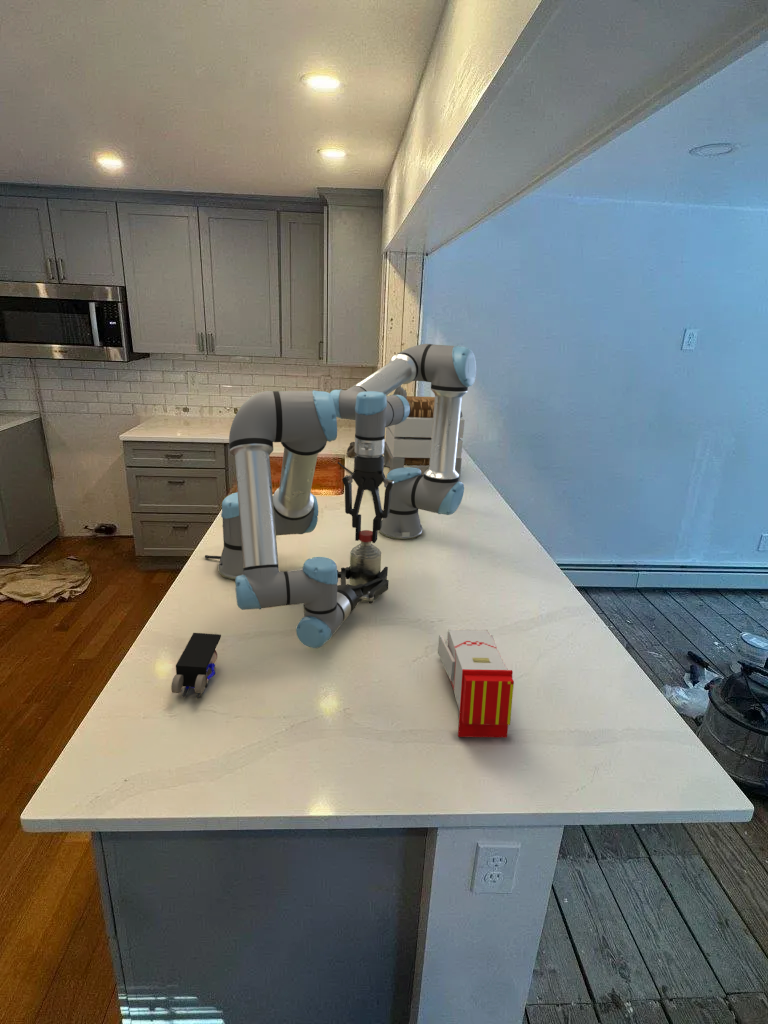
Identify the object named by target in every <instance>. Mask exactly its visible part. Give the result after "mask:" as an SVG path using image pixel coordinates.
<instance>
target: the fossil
mask: <svg viewBox="0 0 768 1024" xmlns="http://www.w3.org/2000/svg"><path fill="white" fill-rule="evenodd" d="M355 455H356V453H355V441H351V442H350V443H349V446H348V447H347V450H346V456H347V457H348V458H352V457H354V456H355Z"/></svg>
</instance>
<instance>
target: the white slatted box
mask: <svg viewBox="0 0 768 1024" xmlns="http://www.w3.org/2000/svg"><path fill="white" fill-rule="evenodd" d="M407 394H408V393H407V390H406V389H404V388H403V387H402V385H401V386H399V387H398V388H396V389H395V390H394V391H393V394H392V395H401V396H403V397H404V398H406V399H407V401H408V403H409V406H410V413H409V416H408V417H407V419H406V420H404V421H403V422H401V423H399V424H397V425H392V426H388V427H385V447H384V454H383V456H384V467H388V468H389V472H390V471H391V470H393V469H397V468H405V466H406V467H409V466H411V467H417V466H418V467H429V462H430V450H431V438H432V425H433V413H434V401H435V396H415V395H414V396H413V395H412V396H411V395H407ZM464 429H465V419H464V418H463V411H461V413H460V424H459V434H458V444H457V454H456V464H455V471H456V472H457V473H458V474H459V482H461V472H462V461H463V460H462V453H463V442H464V441H463V440H462V439H463V438H464V431H465V430H464Z"/></svg>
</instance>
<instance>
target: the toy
mask: <svg viewBox="0 0 768 1024" xmlns="http://www.w3.org/2000/svg"><path fill="white" fill-rule="evenodd" d="M446 640H447V643H446V641H445V639H444V636H443V635H442V634H439V637H438V646H437V656H438V657H439V659H440V661H441V663H442V666H443V668H444V670H445V672H446V674H447V677H448V679H449V681H450V684H451V687H452V690H453V693H454V697H455V701H456V705H457V708H458V711H459V714H458V715H459V716H458V730H457V731H458V732H457V737H458V738H508V731H509V726H510V725H511V717H512V707H513V697H514V696H513V695H514V684H515V680H514V679H513V673H514V671H513V670H512V669H508V667H507V665H506V662H505V661H504V659H503V658H502V655H501V653H500V651H499V649H498V647H497V643H496V639H495V637H494V635H493V634H491V632H490V631H489V629H467V628H466V629H465V628H463V629H461V628H460V629H459V628H448V630H447V639H446Z"/></svg>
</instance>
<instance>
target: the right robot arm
mask: <svg viewBox="0 0 768 1024" xmlns="http://www.w3.org/2000/svg"><path fill="white" fill-rule="evenodd" d="M476 377H477V362H476V356H475V354H474V352H473V350H472V349H471V348H469V347H467V346H461V345H449V344H432V343H421V344H416V345H413V346H411V347H408V348H406V349H404V350H402V351H399V352H398V353H396V354H394V355H393V356H392V357H391V358H390V359H389V362H388V363H386V364H385V365H384V366H382V367H381V368H379V369H377V370H376V371H375V372H373V373H371V374H369V375H368V376H367V377H365V378H363V379H362V380H360V381H359V382H357V383H355V384H354V385H353V386H350V387H349V388H348V389H345V390H344V389H333V390H331V391H329V394H330V395H331V396H332V398H333V401H334V406H335V411H336V418H338V419H341V420H352V421H354V425H355V427H354V429H355V430H354V432H355V434H354V442H355V453H356V455H355V456H353V457H354V458H353V471H351V470H350V469H348V468H347V467H346V466H344V465H343V464H342V463H341V462H339V461H337V464H338V465H339V466H340V467H342V469H344V470H346V471H347V472H348V473H350V474H349V475H348V474H345V475H344V476H343V477H342V478H341V480H342V484H343V486H344V508H345V509H344V512H345V514H346V515H350V516H351V526H352V528H353V529H355V532H354V533H355V536H354V540H355V541H356V542H358V541H360V540H359V532H360V531H362V514H361V513H360V509H361V504H362V500H363V496H364V492H365V491H369V492H370V493H371V496H372V502H373V508H374V513H375V516H374V517H373V519H372V531H373V536H372V542H371V544H376V542H377V540H378V533H379V534H380V535H381V536H382V537H385V538H387V539H389V540H395V541H410V540H415V539H418V538H420V537H421V536H422V535H423V525H422V524H421V518H420V515H419V510H421V511H426V512H429V513H435V514H438V515H445V516H451V515H453V514H454V513H456V511H457V510H458V509H459V507H460V505H461V502H462V500H463V497H464V493H465V485H464V483H463V482H462V481H460V482H459V474H458V473H457V472H456V471H455V464H456V454H457V444H458V434H459V424H460V413H461V412H462V403H463V396H464V395H466V394H467V393H468V391H469V388H470V387H472V386H474V383H475V382H476ZM412 382H426V383H430V390H431V391H432V393H433V394H434V397H435V401H434V413H433V425H432V438H431V450H430V462H429V465H428V468H427V469H426V470H424V471H423V474H422V470H421V468H419V467H414V466H411V467H409V466H406V467H405V466H404V468H397V469H393V470H391V471H390V470H389V471H388V473H387V475H385V473H384V472H385V471H384V469H385V468H384V467H385V466H384V447H385V442H386V441H385V438H386V427H388V426H392V425H397V424H399V423H401V422H403V421H404V420H406V419H407V417H408V416H409V413H410V406H409V403H408V401H407V399H406V398H404V397H403V396H401V395H393V394H391V393H392V392H395V390H396V388H398V387H399V386H401V387H402V385H408V384H410V383H412ZM353 481H354V482H355V484H356V485H357V489H356V495H355V499H354V503H353V485H352V483H353ZM383 483H384V485H383V487H384V488H385V490H384V496H383V497H384V500H383V507H382V503H381V497H380V488H379V487H380V486H381V485H382V484H383ZM382 508H383V509H382ZM359 513H360V514H359Z"/></svg>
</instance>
